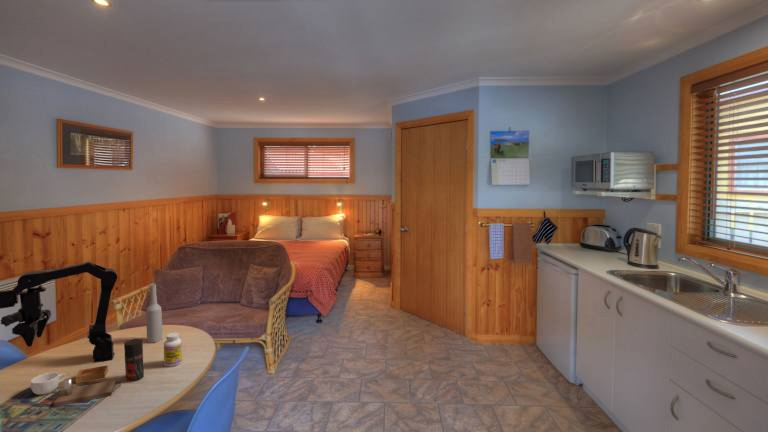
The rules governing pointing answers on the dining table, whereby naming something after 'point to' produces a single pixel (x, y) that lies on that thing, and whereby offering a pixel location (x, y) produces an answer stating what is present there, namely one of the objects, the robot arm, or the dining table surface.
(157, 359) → the dining table surface
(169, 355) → the supplement bottle
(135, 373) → the deodorant
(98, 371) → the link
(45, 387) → the teacup
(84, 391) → the board
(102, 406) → the dining table surface
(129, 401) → the dining table surface
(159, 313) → the bottle
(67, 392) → the keeper peg
